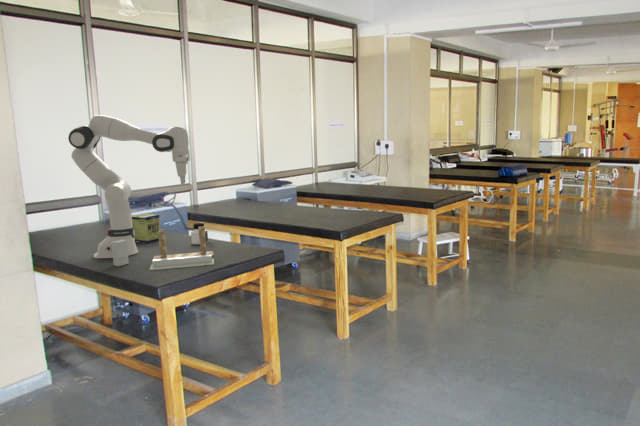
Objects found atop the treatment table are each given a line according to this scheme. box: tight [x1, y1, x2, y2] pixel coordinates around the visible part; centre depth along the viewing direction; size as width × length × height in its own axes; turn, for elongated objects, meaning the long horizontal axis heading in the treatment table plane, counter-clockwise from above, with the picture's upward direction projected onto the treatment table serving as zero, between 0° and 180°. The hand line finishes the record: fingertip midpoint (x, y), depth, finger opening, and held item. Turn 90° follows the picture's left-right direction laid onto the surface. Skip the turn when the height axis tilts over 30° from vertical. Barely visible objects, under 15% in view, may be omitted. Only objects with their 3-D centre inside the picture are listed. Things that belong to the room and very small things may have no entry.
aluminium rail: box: [151, 255, 213, 267], centre depth 250 cm, size 28×3×3 cm, turn 103°
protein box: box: [132, 213, 161, 244], centre depth 309 cm, size 10×16×16 cm
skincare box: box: [111, 240, 130, 267], centre depth 253 cm, size 6×4×12 cm
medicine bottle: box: [190, 221, 209, 245], centre depth 297 cm, size 7×7×12 cm
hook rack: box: [152, 225, 215, 260], centre depth 264 cm, size 30×8×15 cm, turn 103°
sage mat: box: [149, 258, 215, 271], centre depth 250 cm, size 30×10×1 cm, turn 103°
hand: (183, 183), depth 271 cm, fingers open, 8 cm apart
